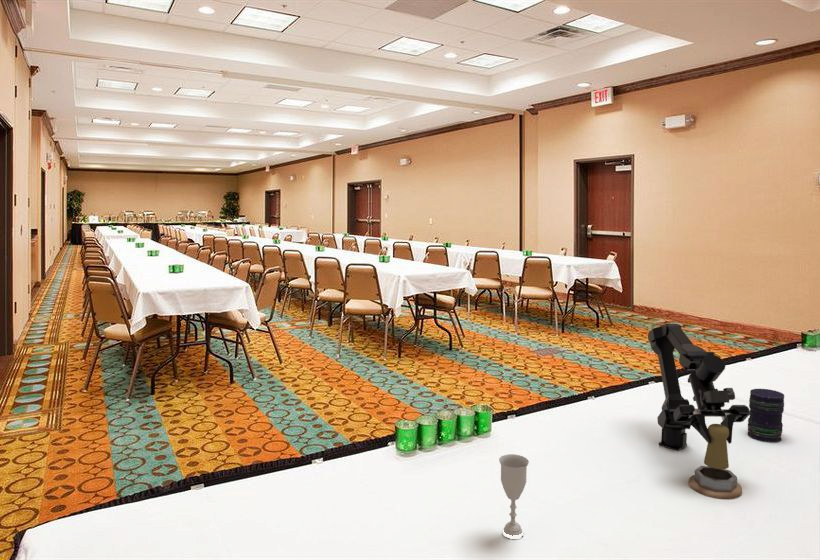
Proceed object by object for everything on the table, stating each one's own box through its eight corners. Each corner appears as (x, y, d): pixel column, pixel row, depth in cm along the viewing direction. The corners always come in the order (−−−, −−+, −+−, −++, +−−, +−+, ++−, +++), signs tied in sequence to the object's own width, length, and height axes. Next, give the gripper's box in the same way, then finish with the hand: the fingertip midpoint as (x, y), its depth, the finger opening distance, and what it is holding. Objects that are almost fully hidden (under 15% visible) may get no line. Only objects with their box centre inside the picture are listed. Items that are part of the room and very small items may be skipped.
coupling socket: (680, 486, 164) (680, 472, 163) (700, 472, 172) (701, 459, 172) (730, 504, 154) (731, 489, 154) (749, 488, 163) (750, 474, 162)
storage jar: (782, 435, 200) (785, 391, 198) (781, 445, 191) (784, 399, 190) (747, 429, 205) (750, 386, 203) (745, 438, 197) (748, 394, 195)
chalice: (495, 526, 144) (495, 454, 142) (522, 524, 145) (523, 453, 143) (502, 543, 137) (503, 468, 135) (531, 541, 138) (532, 466, 135)
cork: (727, 471, 158) (730, 431, 157) (702, 465, 162) (704, 426, 160) (729, 462, 163) (732, 424, 162) (705, 457, 167) (707, 419, 165)
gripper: (679, 376, 164) (694, 430, 154) (749, 376, 163) (769, 431, 154) (667, 394, 173) (680, 447, 163) (733, 395, 172) (750, 447, 162)
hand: (720, 443), depth 160 cm, fingers closed on cork, 5 cm apart
